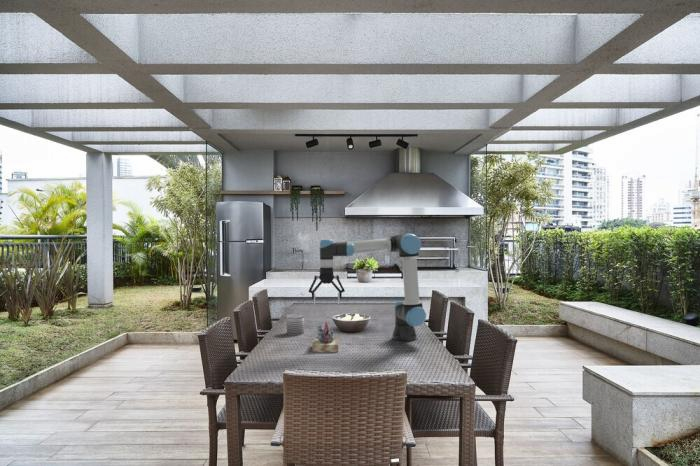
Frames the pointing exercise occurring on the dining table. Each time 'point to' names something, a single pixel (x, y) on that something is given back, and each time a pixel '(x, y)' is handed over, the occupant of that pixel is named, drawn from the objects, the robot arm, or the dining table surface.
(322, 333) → the spiky succulent plant
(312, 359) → the dining table surface
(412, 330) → the robot arm
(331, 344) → the oak riser
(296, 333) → the can
